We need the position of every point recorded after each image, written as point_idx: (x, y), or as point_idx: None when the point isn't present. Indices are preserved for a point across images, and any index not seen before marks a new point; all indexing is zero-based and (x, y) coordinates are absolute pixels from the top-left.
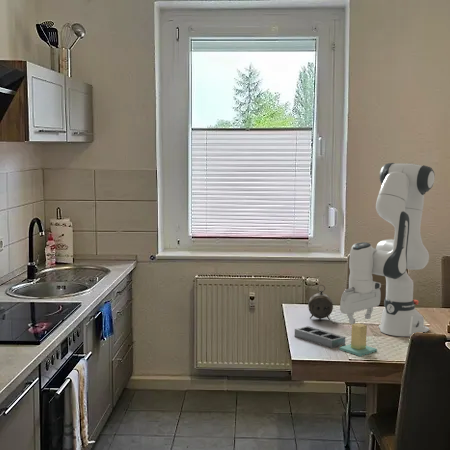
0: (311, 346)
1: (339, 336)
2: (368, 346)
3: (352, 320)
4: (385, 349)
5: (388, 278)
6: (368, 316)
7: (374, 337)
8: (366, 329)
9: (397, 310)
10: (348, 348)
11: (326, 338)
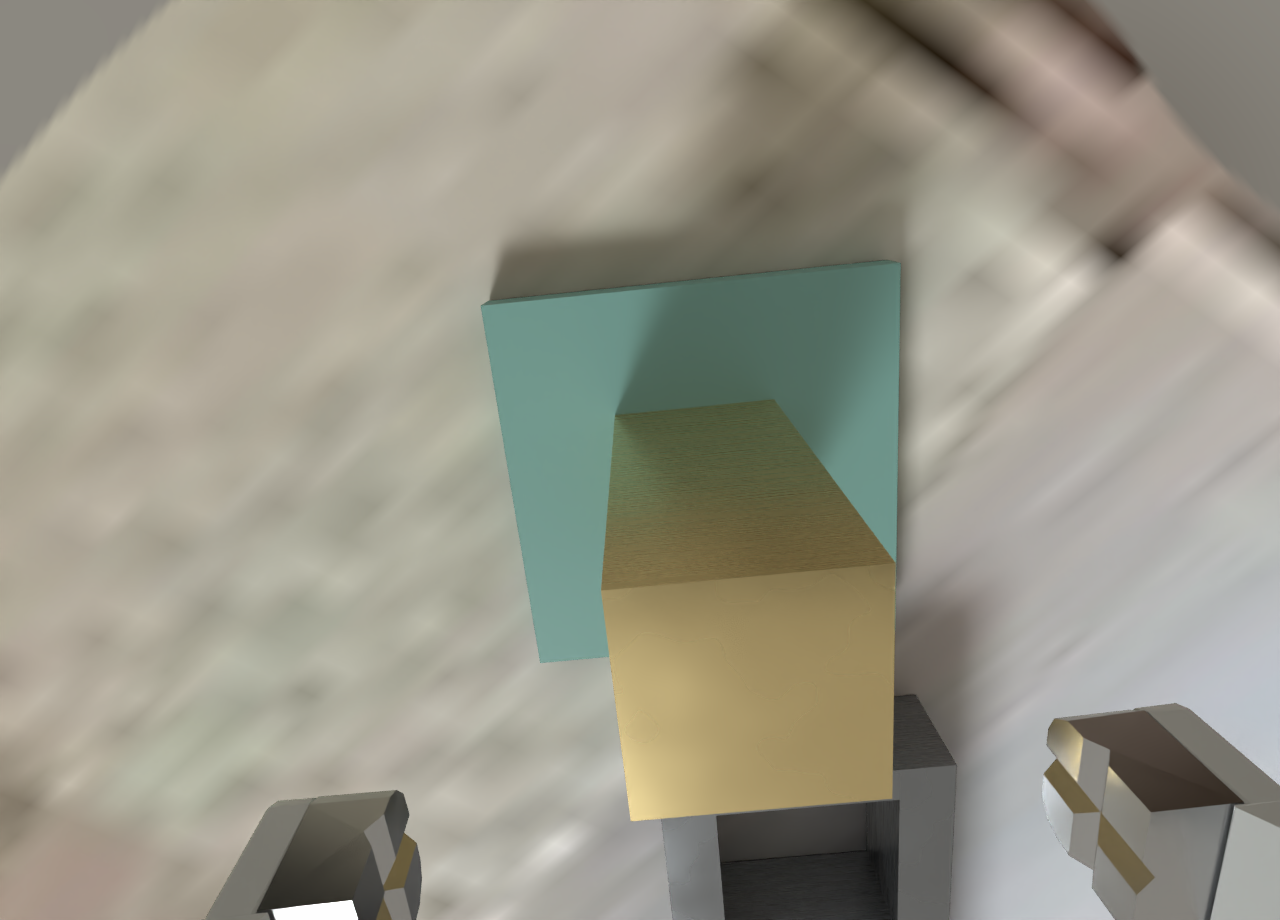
0: (1048, 843)
1: (705, 846)
2: (513, 455)
3: (1257, 781)
4: (296, 299)
5: None
6: (368, 853)
7: (85, 744)
8: (613, 540)
9: None
10: None
11: (933, 862)
